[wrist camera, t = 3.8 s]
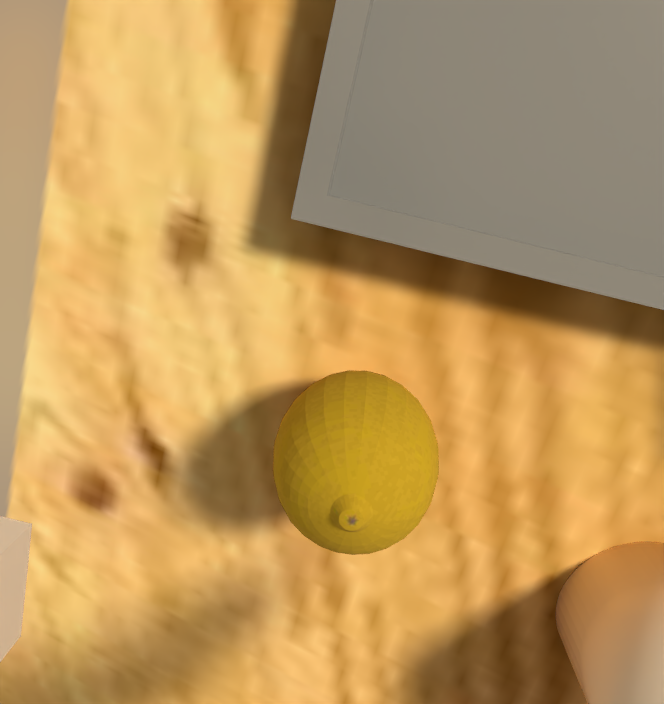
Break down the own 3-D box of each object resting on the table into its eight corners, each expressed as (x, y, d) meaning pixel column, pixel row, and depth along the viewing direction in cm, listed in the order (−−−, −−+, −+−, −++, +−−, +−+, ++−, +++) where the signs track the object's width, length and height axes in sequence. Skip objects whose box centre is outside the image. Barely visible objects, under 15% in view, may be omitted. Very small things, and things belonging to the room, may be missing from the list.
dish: (415, -334, 17) (422, -416, 15) (949, -204, 17) (1041, -266, 15) (299, 215, 21) (290, 218, 19) (719, 317, 21) (761, 333, 19)
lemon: (395, 491, 24) (404, 632, 17) (272, 443, 24) (224, 564, 16) (450, 376, 23) (489, 473, 15) (319, 324, 23) (291, 396, 15)
